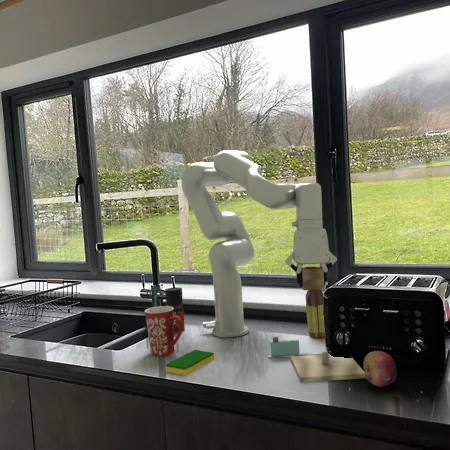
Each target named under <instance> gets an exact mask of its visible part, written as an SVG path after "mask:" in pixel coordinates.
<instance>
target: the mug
mask: <svg viewBox="0 0 450 450" xmlns="http://www.w3.org/2000/svg"><path fill="white" fill-rule="evenodd" d="M173 310H174V308H173V307H170V306H166V305H164V306H163V305H162V306H160V305H159V306H154V307H153V306H152V307H149V308H147V309H145V310H144V314H145V321H146V327H147V335H148V343H149V349H150V350H149V351H150V354H151V355H152V356H155V357H163V356H168V355H172V354H173V353H174V352H175V345H177V343H178V341H179V340H180V338H181V335H182V333H183V332H182V330H183V321H182V319H181V317H179V316H173ZM174 319H176V320H177V321H178V323H179V331H178V333H176V336H175V333H174Z"/></svg>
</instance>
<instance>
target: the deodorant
mask: <svg viewBox="0 0 450 450" xmlns="http://www.w3.org/2000/svg"><path fill="white" fill-rule="evenodd" d="M183 300H184V299H183V287H169V288H165V303H166V305H165V306H170V307H173V308H174V310H173V316H179V317H181V319H182V321H183V330H182V333H183V332H185V318H184V317H185V315H184V314H185V313H184V301H183ZM178 331H179V323H178V321H177V320H176V319H174V334H178Z"/></svg>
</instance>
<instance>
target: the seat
mask: <svg viewBox="0 0 450 450" xmlns="http://www.w3.org/2000/svg"><path fill="white" fill-rule="evenodd" d="M328 352H329V351H322V352H321V351H319V352H306V353H305V352H303V353H299V354H295V355H280V356H271V355H267V359H274V358H275V359H276V358H289V357H290V361H291V364H292V366H293V368H294V370H295V373H296V375H297V378H298V379H299V382H300V383H313V382H327V381H343V380H345V381H346V380H358V379H367V378H366V376H365V373H364V369H363V368H362V367H361V366H360V365H359V364H358V363H357V362H356V360H355V359H354V358H353V357H352V358H344V357H333V356H331V355H330V354H329V353H328Z"/></svg>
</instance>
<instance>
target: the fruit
mask: <svg viewBox="0 0 450 450" xmlns="http://www.w3.org/2000/svg"><path fill="white" fill-rule="evenodd" d="M362 366H363V368H362V369H363V371H364V373H365V376H366V378H365V379H366V381H368V382H369V383H370V384H371V385H373V386H376V387H379V388H383V387H387V386H389V385H391V384H393V383H395V381H396V380H397V376H398V370H397V368H396V366H397V364H396V361H395V360H394V358H393V357H392V356H391V355H390V354H388V353H386V352H384V351H382V350H374V351H370V352H369V353H367V355H365V357H364V359H363V364H362Z"/></svg>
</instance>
